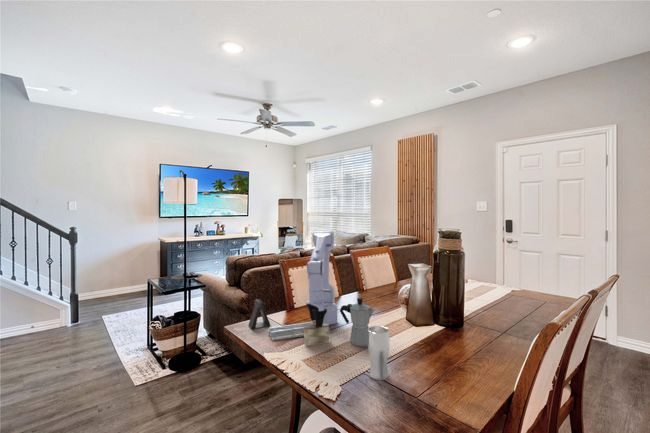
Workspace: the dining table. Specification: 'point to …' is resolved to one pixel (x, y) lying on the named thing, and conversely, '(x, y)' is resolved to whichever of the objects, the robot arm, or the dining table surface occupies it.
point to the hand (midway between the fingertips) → (316, 323)
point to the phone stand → (254, 316)
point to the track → (288, 331)
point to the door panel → (316, 334)
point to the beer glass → (378, 351)
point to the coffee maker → (358, 322)
